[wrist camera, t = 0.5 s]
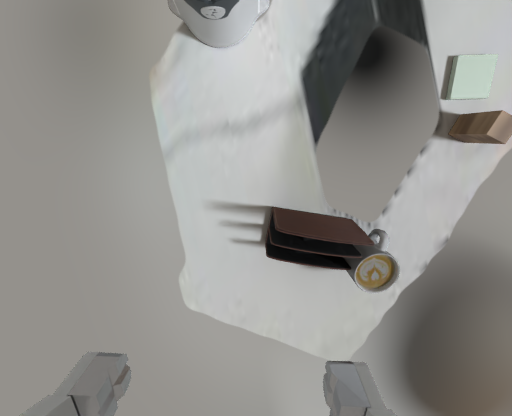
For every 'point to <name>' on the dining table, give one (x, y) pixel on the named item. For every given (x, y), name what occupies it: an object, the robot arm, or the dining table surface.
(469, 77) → the sage board
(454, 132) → the walnut block
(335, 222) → the letter holder
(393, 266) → the coffee mug
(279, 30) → the dining table surface
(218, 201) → the dining table surface
